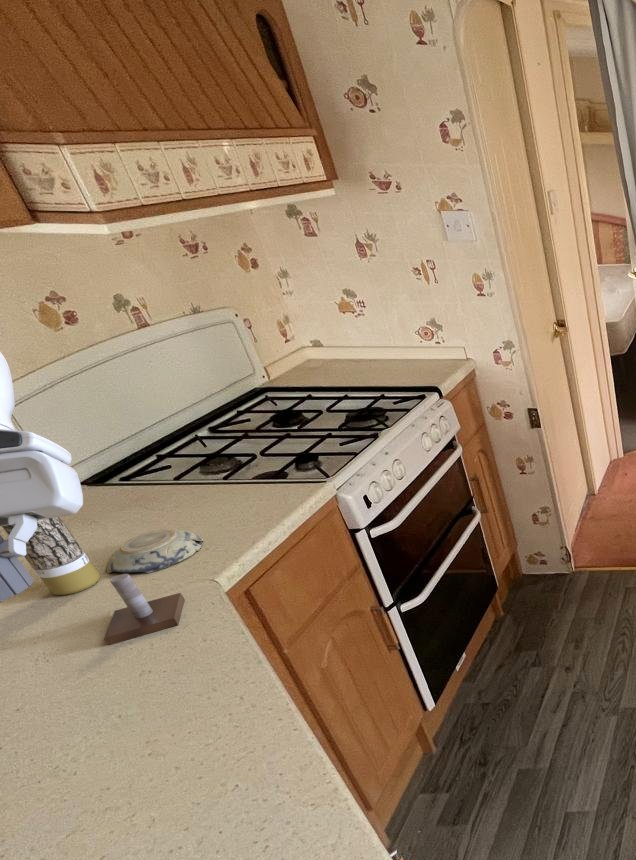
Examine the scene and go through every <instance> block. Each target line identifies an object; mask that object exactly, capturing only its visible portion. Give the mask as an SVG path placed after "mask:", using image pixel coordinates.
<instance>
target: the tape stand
mask: <svg viewBox="0 0 636 860" xmlns="http://www.w3.org/2000/svg"><path fill="white" fill-rule="evenodd" d="M109 582H110V583H111V585H112V586H113V588H114V590H115V591H116V592H117V594H118V595H119V597H120V598H121V600H122V601H123V602H124V604H125V606H126V607H123V608H122V607H121V608H119V609H115V610H114V611H113V614H112V617H111V619H110V622H109V624H108V627H107V629H106V631H105V634H104V637H103V639H104V640H105V642H106V644H107V645H108V646H111V645H115V644H118V643H121V642H125V641H128V640H131V639H135V638H139V637H142V636H145V635H149V634H152V633H156V632H159V631H163V630H166V629H169V628H174V627H177V626H179V624H180V621H181V616H182V613H183V608H184V603H185V600H186V599H185V597H184V595H183V594H182V592H177V593H174V594H171V595H166V596H162V597H159V598H155V599H152V600H148V601H147V599H146V598H145V595H143V594H142V591H140V588H139V587H138V586H137V585H136V583H135V581H134V580H133V578H132V576H131V575H130V574H129V573H122V574H118V575H115V576H113V577H112V578H111V579H110V580H109Z"/></svg>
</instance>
